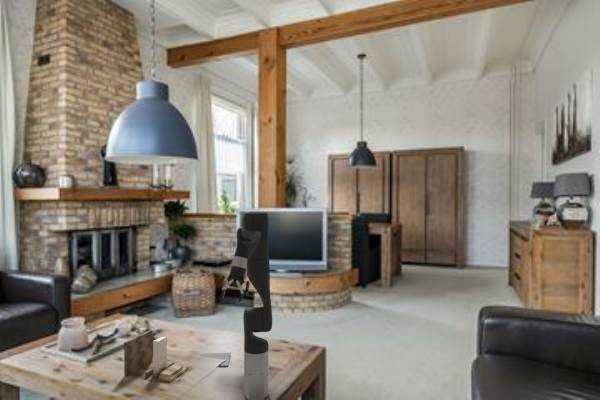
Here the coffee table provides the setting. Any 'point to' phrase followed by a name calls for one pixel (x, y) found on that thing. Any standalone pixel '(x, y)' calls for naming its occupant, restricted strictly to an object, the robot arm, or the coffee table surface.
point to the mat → (219, 356)
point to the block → (159, 354)
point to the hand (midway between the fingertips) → (230, 299)
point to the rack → (148, 361)
